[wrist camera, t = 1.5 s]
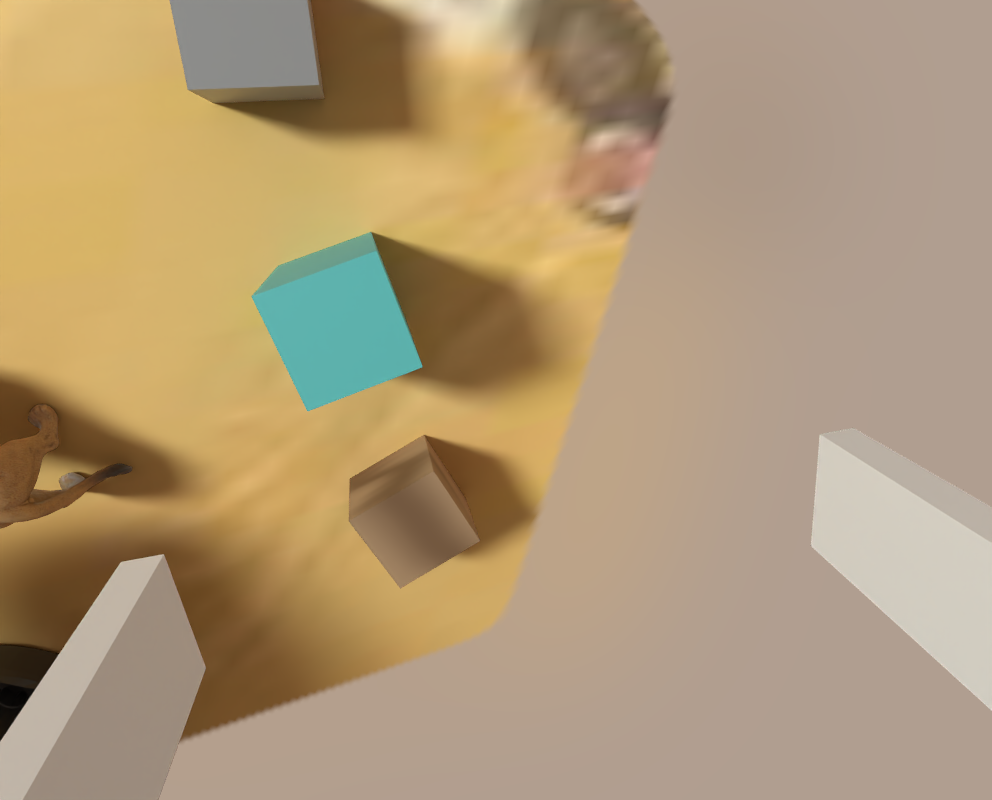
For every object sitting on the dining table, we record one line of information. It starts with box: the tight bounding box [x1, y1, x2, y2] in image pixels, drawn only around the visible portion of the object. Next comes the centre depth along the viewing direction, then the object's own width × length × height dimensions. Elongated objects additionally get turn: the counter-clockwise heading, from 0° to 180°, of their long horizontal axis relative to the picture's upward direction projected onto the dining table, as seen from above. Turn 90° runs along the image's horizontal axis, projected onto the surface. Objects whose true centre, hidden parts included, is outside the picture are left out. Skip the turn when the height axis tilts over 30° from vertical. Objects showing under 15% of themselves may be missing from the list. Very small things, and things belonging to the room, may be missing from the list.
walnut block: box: [349, 435, 480, 588], centre depth 35 cm, size 5×5×5 cm
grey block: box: [170, 0, 324, 103], centre depth 27 cm, size 5×5×5 cm
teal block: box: [252, 232, 423, 411], centre depth 29 cm, size 5×5×9 cm
